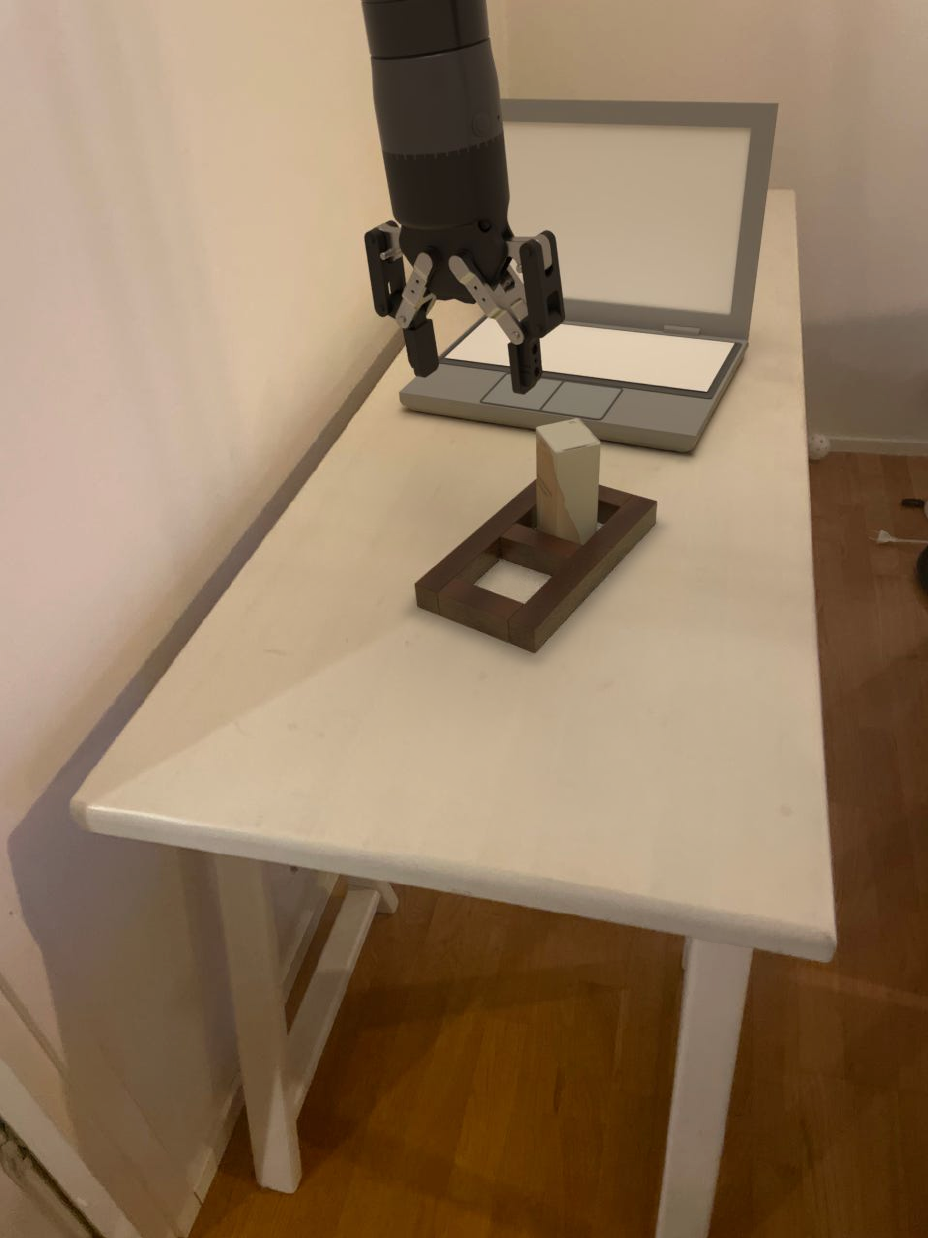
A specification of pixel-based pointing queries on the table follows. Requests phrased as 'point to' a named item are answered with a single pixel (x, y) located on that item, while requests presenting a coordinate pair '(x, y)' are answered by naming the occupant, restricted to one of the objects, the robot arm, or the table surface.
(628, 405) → the laptop
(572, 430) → the box
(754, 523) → the table surface
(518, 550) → the socket pad
